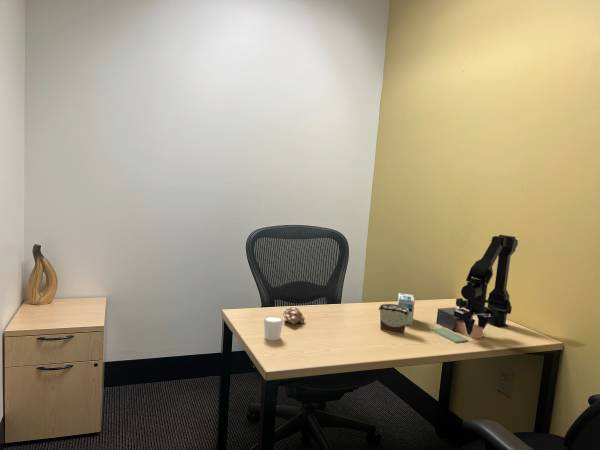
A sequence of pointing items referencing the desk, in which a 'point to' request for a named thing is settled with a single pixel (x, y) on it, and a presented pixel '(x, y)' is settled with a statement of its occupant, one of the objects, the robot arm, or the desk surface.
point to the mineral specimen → (293, 315)
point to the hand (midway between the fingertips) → (473, 333)
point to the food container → (393, 318)
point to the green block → (449, 335)
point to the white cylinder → (272, 327)
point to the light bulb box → (407, 305)
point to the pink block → (461, 328)
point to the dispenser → (446, 318)
